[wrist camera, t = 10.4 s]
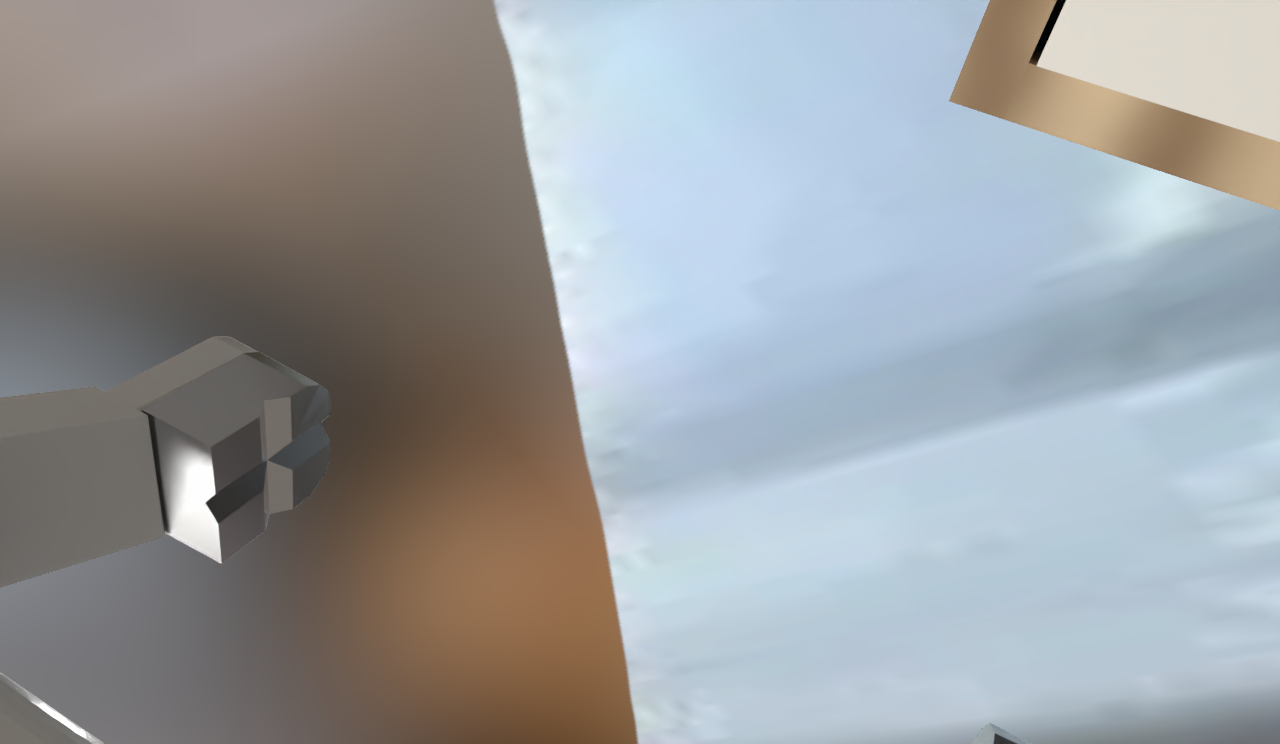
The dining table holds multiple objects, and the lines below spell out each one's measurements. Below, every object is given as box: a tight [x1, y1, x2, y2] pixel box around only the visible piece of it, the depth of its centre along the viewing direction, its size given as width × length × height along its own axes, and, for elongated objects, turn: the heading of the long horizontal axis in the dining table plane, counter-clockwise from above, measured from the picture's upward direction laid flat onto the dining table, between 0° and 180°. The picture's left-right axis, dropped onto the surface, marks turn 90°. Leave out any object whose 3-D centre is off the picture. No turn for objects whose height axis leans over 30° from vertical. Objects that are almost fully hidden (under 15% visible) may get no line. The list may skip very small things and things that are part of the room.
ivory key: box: [1037, 0, 1280, 142], centre depth 30 cm, size 12×5×3 cm, turn 77°
